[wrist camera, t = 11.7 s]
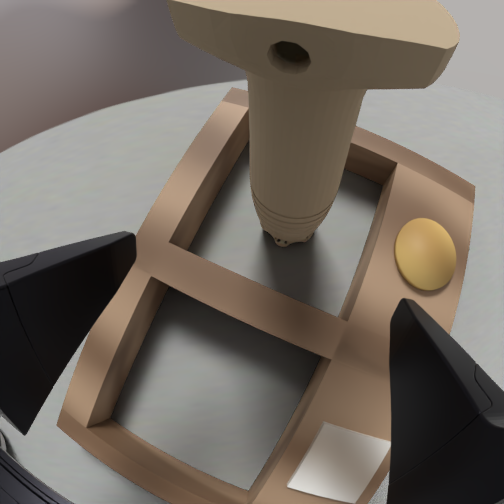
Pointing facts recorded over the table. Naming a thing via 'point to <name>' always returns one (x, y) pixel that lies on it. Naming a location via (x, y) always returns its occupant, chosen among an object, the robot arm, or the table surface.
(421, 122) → the table surface
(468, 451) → the robot arm
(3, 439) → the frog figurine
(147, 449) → the socket board
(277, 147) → the handle
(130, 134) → the table surface
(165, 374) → the table surface
